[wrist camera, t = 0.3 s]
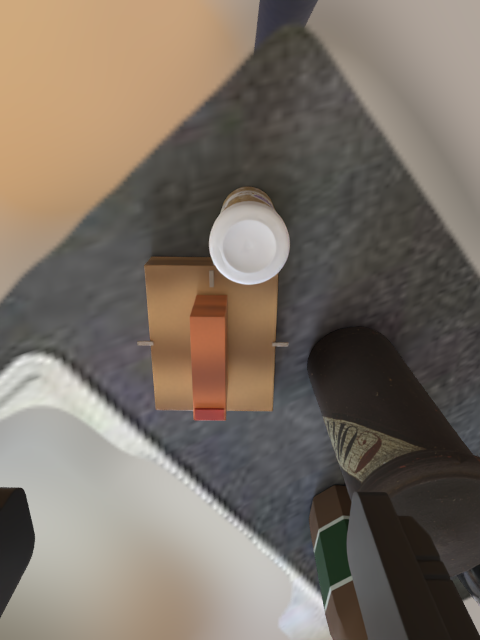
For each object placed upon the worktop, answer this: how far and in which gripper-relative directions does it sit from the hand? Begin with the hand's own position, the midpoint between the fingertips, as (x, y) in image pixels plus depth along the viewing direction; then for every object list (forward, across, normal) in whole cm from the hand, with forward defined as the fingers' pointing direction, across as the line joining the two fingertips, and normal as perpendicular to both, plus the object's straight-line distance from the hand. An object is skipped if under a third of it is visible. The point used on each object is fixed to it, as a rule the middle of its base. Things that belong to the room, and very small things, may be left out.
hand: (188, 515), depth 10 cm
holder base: (+29, +1, +7) cm, 30 cm away
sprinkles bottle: (+29, -2, -4) cm, 29 cm away
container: (+29, -12, +10) cm, 33 cm away
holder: (+26, +1, +7) cm, 27 cm away
